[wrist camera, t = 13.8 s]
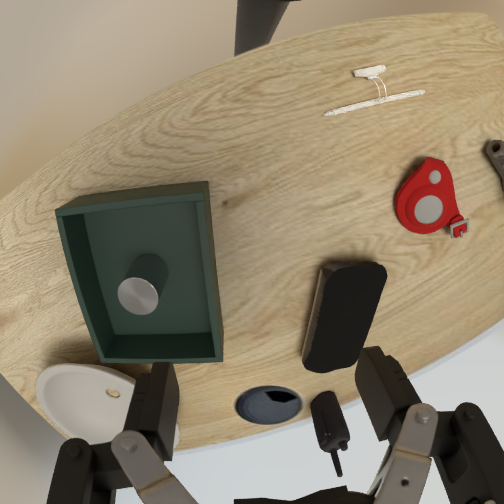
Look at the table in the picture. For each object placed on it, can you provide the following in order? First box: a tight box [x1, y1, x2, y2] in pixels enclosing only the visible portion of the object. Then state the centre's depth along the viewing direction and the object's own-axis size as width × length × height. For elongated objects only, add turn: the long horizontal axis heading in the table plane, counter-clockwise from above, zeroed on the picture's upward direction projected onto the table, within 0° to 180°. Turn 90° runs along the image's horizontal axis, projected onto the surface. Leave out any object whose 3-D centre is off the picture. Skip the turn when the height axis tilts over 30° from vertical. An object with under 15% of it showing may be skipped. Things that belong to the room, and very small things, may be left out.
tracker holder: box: [395, 157, 469, 238], centre depth 34 cm, size 12×4×10 cm
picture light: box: [323, 65, 426, 116], centre depth 29 cm, size 14×4×2 cm, turn 110°
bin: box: [55, 181, 224, 364], centre depth 34 cm, size 20×16×6 cm
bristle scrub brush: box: [302, 261, 387, 373], centre depth 39 cm, size 16×8×4 cm, turn 174°
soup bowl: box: [35, 363, 180, 450], centre depth 41 cm, size 24×24×7 cm
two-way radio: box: [310, 392, 350, 477], centre depth 40 cm, size 6×4×15 cm
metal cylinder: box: [118, 254, 168, 315], centre depth 33 cm, size 4×4×6 cm
